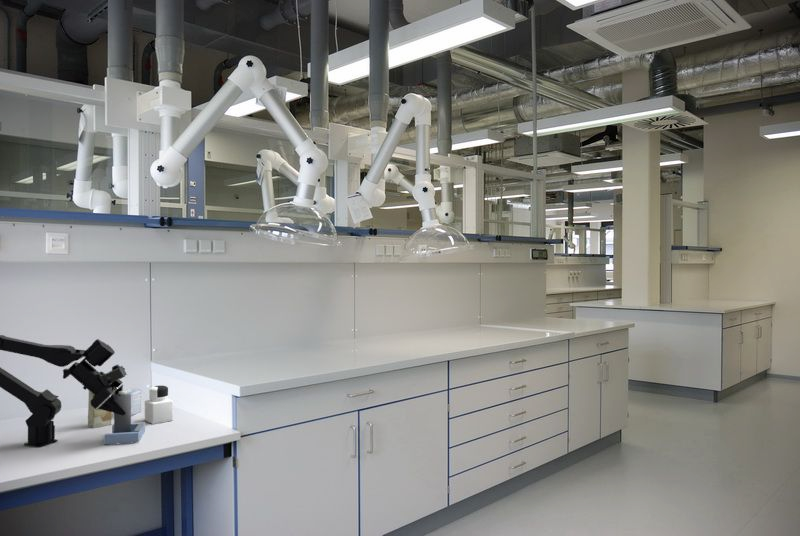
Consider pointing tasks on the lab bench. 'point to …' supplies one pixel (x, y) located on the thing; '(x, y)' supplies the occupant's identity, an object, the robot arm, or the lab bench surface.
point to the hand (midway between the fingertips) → (127, 410)
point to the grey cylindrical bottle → (120, 421)
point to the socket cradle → (126, 434)
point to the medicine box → (135, 400)
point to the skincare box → (97, 415)
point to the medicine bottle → (158, 405)
